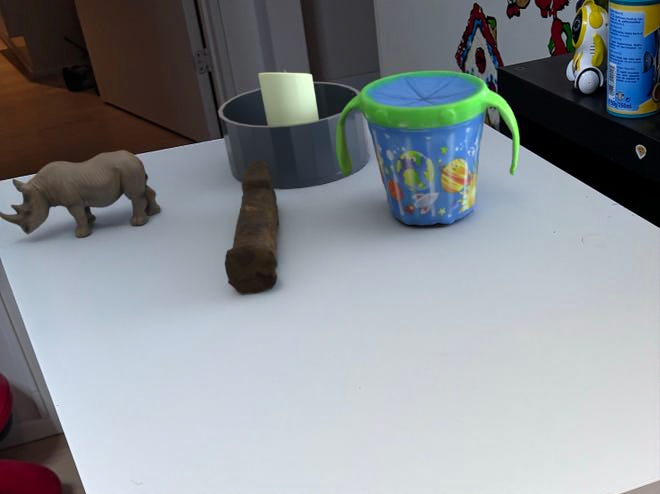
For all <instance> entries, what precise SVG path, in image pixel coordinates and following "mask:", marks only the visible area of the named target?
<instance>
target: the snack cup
mask: <svg viewBox="0 0 660 494" xmlns="http://www.w3.org/2000/svg"><path fill="white" fill-rule="evenodd" d="M359 92H360V94H359V95H357V96H356V97H354V98H353V99H352V100H351V101H350V102H349V103H348V104H347V106H346V107H345V108H344V110H343V111H342V113H341V115H340V118H339V121H338V124H337V130H336V152H337V158H338V162H339V166H340V168H341V171H342V173H343V174H344V175H345V176H346V177H349V176H351V175H352V174H351V171H352V162H351V159H350V154H349V150H348V146H347V142H346V138H345V134H344V131H345V124H346V118H347V116H348V114H349V113H350V112H351V111H352V110H353V109H354V108H355V109H358V110H360V111H361V112H362V114H363V115H364V117H365V121H366V122H367V127H368V130H369V133H370V137H371V141H372V145H373V149H374V153H375V157H376V162H377V166H378V169H379V173H380V177H381V178H380V179H381V182H382V185H383V188H384V191H385V194H386V195H385V196H386V202H387V204H388V206H389V209H390V212H391V213H392V216H394V217H395V218H396V219H397V220H399V221H401V222H402V223H404V224H406V225H408V226H412V225H414V226H415V225H417V226H432V225H435V224H442V225H443V224H444V225H452V224H453V223H454V222H455V221H458V220H461V219H464V218H465V216H467V215H469V213H470V212H473V211H474V208H475V203H476V199H477V198H476V197H477V185H478V175H479V163H480V151H481V141H482V138H483V132H484V125H485V119H486V114H487V109H488V108H490V107H491V108H495V109H496V110H497V111H498V113H499V115H500V117H501V118H502V119H503V121H504V122H505V124H506V125H507V127H508V129H509V131H510V132H511V134H512V142H511V164H510V167H509V174H510V175H511V176H514V175H515V172H516V170H517V169H516V168H517V164H518V160H519V154H520V153H519V152H520V133H519V127H518V122H517V119H516V117H515V114H514V112H513V110H512V109H511V107H510V105H509V104H508V103H507V101H506V100H505V99H504V98H503V97H502V96H501V95H499V94H498V93H496V92H494V91H493V90H490V89H489V87H488V86H487V84H486V82H485V81H484V80H483V79H481V78H480V77H478V76H475V75H474V74H469V73H465V72H458V71H451V70H419V71H410V72H409V71H408V72H403V73H397V74H393V75H389V76H385V77H381V78H379V79H376V80H374V81H371V82H370V83H368V84H366V85H365V86H364V87H363V88H362V89H361V90H360V91H359ZM350 174H351V175H350Z"/></svg>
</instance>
